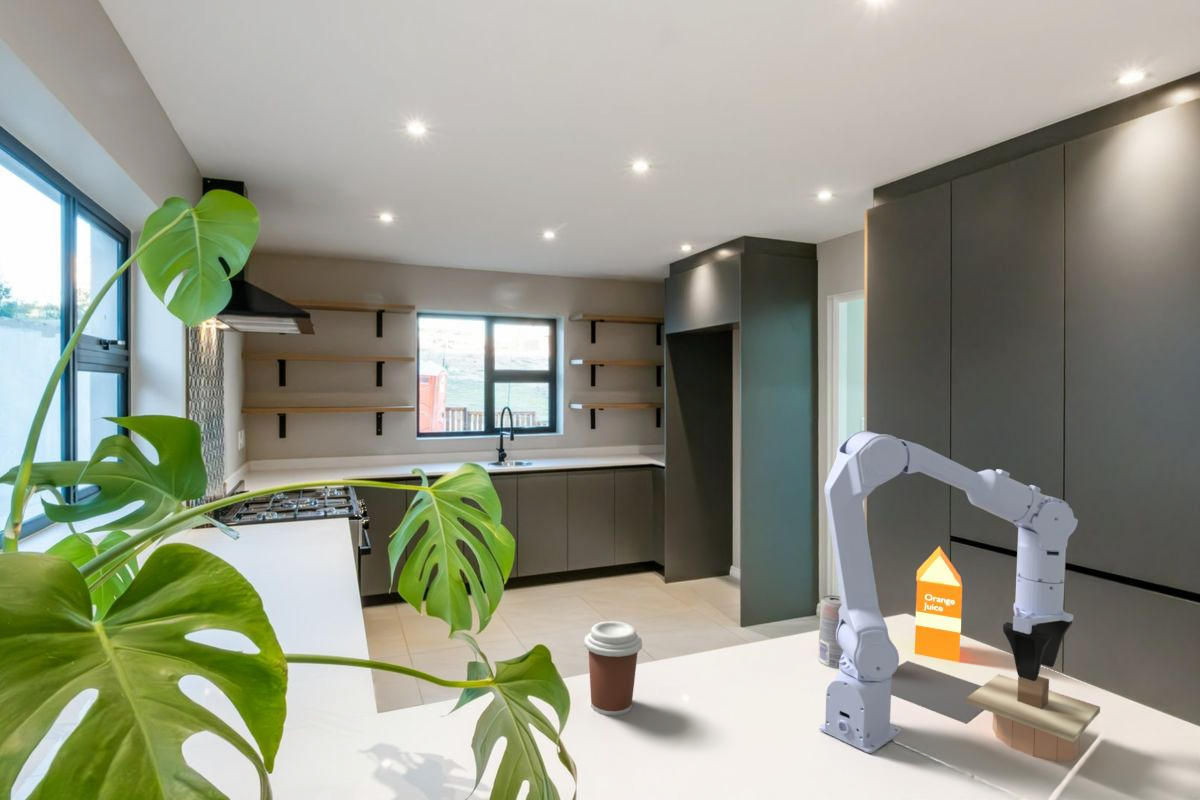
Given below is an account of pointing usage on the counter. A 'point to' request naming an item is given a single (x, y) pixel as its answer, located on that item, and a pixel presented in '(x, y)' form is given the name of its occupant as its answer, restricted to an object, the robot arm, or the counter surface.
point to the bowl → (1034, 740)
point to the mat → (935, 691)
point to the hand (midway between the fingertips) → (1036, 671)
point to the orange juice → (938, 609)
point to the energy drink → (829, 631)
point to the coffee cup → (612, 666)
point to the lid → (1035, 705)
